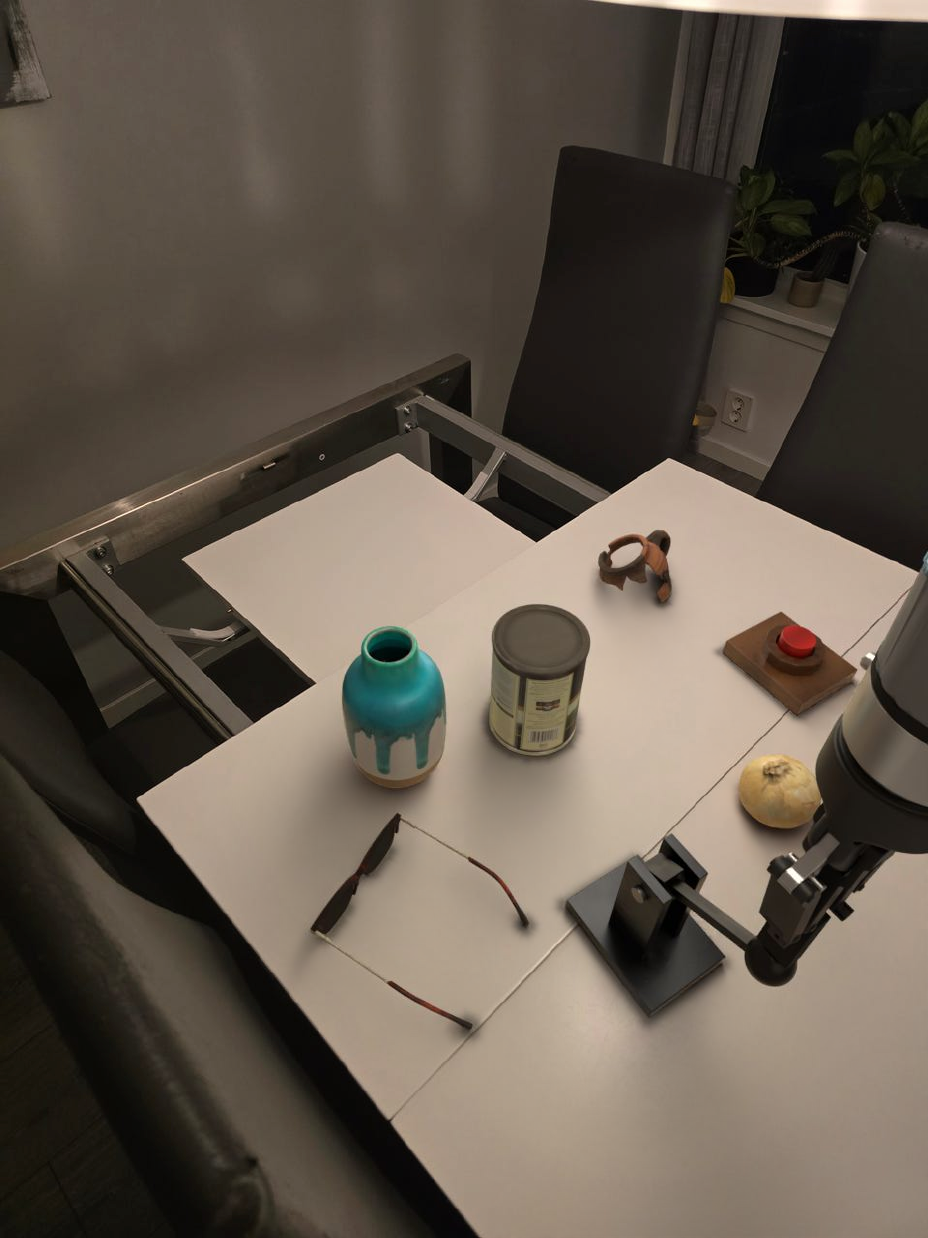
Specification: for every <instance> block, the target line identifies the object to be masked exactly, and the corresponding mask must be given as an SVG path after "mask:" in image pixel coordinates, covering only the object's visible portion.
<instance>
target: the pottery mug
mask: <svg viewBox="0 0 928 1238" xmlns="http://www.w3.org/2000/svg"><path fill="white" fill-rule="evenodd" d="M671 543H672V540H671V536H670V535H669V533H668V532H667V531H665V530H662V529H655V530H653V531H652V532H650V533H649V534H648V535H647V536H646V537H645V536H643V535H641V534H637V533H631V534H626V535H623V536H620V537H617V538H615V539H614V540H612V541H611V542H609V543H608V544H607V547H608V549H609V551H608V552H607V551H606V550H603V551H602V552H600V553H599V556H598V560H597V563H598V567H599V570H598V574H599V575H598V576H599V578H600V580H601V582H603V583H605V584H607V585H612V586H614V587H616V588H617V589H618V590H620V591H621V592H622V591H624V585H625V582H626V578H627V579H629V580H630V581H632V582H635V583H638V584H641V585H642V584H646V583H648V578H647V576H646V574H647V571H646V567H647V566H648V567H649V568H650V569H651V570H652V571H653V573H654V574H655V575H657V576H661V578H662V580H664V583H663V584H662V586H661V587H660V588H659V589H658V590H657V592H656V595H657V597H659V598H658V599H659V600H658V601H659V603H660V604H663V603H664V602H665V601H667V600H668V598H669V596H670V595H671V593H672V589H673V585H672V580H671V579H672V578H671V575H670V569H669V568H670V567H669V562H668V559H667V556H668V554H669V551H670V548H671ZM631 544H640V546H641V547H642V549H641V552H640V553H639V555H638V556H637V557H635V559H634V560H633V561H631V562H630V563H628V564H626V565H623V566H619V567H612V566H613V560H612V555H613V554H614V553H615V552H616V551H618V550H619V549H621V548H624V547H625V546H629V545H631ZM646 565H647V566H646Z"/></svg>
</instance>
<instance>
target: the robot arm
mask: <svg viewBox="0 0 928 1238" xmlns="http://www.w3.org/2000/svg"><path fill="white" fill-rule="evenodd" d="M922 562H923V564H922V566H921V568H920V570H919V572H918V574H917V576H916V578H915V580H914V581H913V584H912V586H911V587H910V590H909V592H908V593H907V595H906V597H905V599H904V601H903V603H902V605H901V607H900V608H899V611H898V612H897V614H896V615H895V618H894V620H893V622H892V624H891V625H890V627H889V630H888V632H887V633H886V635H885V637H884V639H883V640H882V641H881V643H880V644H879V647H878V648H877V650H876V652H874V651H872V652H868V653H867V654H865V655H864V656H862V657H861V658H860V662H859V665H860V667H861V669H862V670H863V671H865V673H864V675H863V677H862V678H861V680H860V682H859V684H858V685H857V686H856V688H855V691H854V692H853V694H852V696H851V698H850V699H849V701H848V703H847V704H846V707H845V709H844V710H843V713H841V715H840V716H839V717H838V719H837V720H836V722H835V724H834V725H833V727H832V729H831V731H830V733H829V734H828V736H827V737H826V739H825V742H824V743H823V745H822V747H821V749H820V751H819V753H818V755H817V757H816V760H815V761H816V762H815V768H814V773H815V774H814V776H815V778H816V782H817V786H818V789H819V792H820V795H821V804H820V806H819V807H818V808H817V810H816V812H815V813H814V815H813V818H812V822H813V824H812V826H811V828H810V829H809V831H808V832H807V834H806V835H805V837H804V839H803V840H802V842H801V846H802V849H803V850H804V854H803V855H802V856H801V857H800V858H799V857H798V856H797V855H796V854H795V853H794V851H793V852H792V851H790V852H789V853H788V854H787V855H785V856H784V854H781V855H779V856H776V857H774V858H772V860H770V861H769V865H768V866H767V868H766V871H767V872H768V873H769V874H770V877H769V880H768V883H767V886H766V888H765V892H764V894H763V898H762V902H761V904H760V907H759V911H758V913H759V914H760V916H762V918H763V919H764V920H765V922H764V924H763V925H762V927H761V929H759V932H758V933H757V934H756V935H757V936H756V935H755V936H756V937H757V938H758V939H759V940H760V942H761V943H762V944H763V945H764V946H765V947H766V948H767V949H768V950H769V952H770V953H771V954H772V955H773V956H774V957H775V958H776V959H777V960H778V961H779V963H780V964H781V965H782V966H783V967H784V968H785V969H787V968H788V967H789V966H791V965H792V964H793V963H794V962H796V961H797V962H798V960H800V959H801V958H802V957H803V955H804V954H805V953H806V951H807V950H808V949H809V947H811V945H812V943H813V942H814V941H815V939H816V938H817V937H818V935H820V933H821V931H822V930H823V929H824V928H825V926H826V925H827V924H828V923H829V921H830V919H832V915H830V914H829V913H828V911H830V912H831V913H832V914H833V915H834V916H835V917H836V918H837V919H838V920H839V921H840V922H841V923H843V922H844V921H845V920H847V919H848V918H850V916H851V915H852V914H854V912H855V910H854V909H853V907H852V906H851V905H849V904H848V903H847V900H848V898H849V897H850V896H851V894H852V893H853V894H856V893H857V892H861V891H863V890H864V889H865V887H866V884H867V883H868V882H869V880H870V879H872V877H873V876H874V875H875V873H876V872H878V870H879V869H880V868H881V867H882V866H883V865H884V864H885V863H886V861H887V860H889V859H890V858H892V857H893V856H894V855H895V854H896V853H899V854H905V855H925V854H927V855H928V551H927V552H926V554H925V555H924V557H923V559H922Z"/></svg>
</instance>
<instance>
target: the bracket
mask: <svg viewBox="0 0 928 1238" xmlns="http://www.w3.org/2000/svg"><path fill="white" fill-rule="evenodd" d="M660 852H661V853H662V854H664V855H665V856H666V857H668V858H669V859H671V860H672V861H673V862H675V863H676V864H677V865H679V866H680V867H681V868H683V869H684V874H685V883H686V884H687V885H688V886H690V887H691V888H692V889H694V890H695V891H696V892H698V893H699V894H700V892H701V890H702V888H703V885H704V883H705V881H706V879H707V877H708V876H709V872H708V871H707V870H706V868H705V867H704V866H703V865H702V864H701V863H700V862H699V861H698V860H697V859H696V858H695V856H693V855H692V853H690V851H689V850H688V849H687V848H686V847H685V846H684V845H683V844H682V843H681V841H680V840H679V839H678V838H677V837H676V836H675V835H674V834H673V833H670V834H668V835H667V836H665V837H663V838H662V841H661V844H660V847H659V849H658V852H657V854H658V853H660ZM645 862H646V861H645V860H643V858H642V857H641V856H640V855H639V854H636V855H634V856H633V857H631V858H630V859H628V860H626V861H625V862H624V863H622V864H621V865H618V866H617V867H616V868H614V869H613V870H611V871H609V872H608V873H606V874H604V875H603V876H602V877H600V878H598V879H597V880H596V881H594V882H592V883H591V884H589V885H588V886H586V887H584V888H583V889H582V890H580V891H579V892H576V893H575V894H574V895H572V896H570V897H569V898H567V899H566V902H565V907H566V909H567V910H568V911H569V913H570V914H571V915H572V917H573V918H574V919H575V921H576V922H577V924H578V925H579V926H580V927H581V929H582V930H583V931H584V933H585V934H586V935H587V937H588V938H589V939H590V941H591V942H592V943H593V945H594V946H595V947H596V949H597V950H598V951H599V953H600V954H601V955H602V957H603V958H604V959H605V961H606V962H607V964H608V965H609V966H610V968H611V969H612V970H613V972H614V973H615V974H616V975H617V977H618V978H619V979H620V980H621V982H622V983H623V985H624V986H625V987H626V989H627V990H628V991H629V993H630V994H631V995H632V997H633V998H634V999H635V1000H636V1002H637V1004H638V1005H639V1006H640V1007H641V1009H642V1010H643V1012H644V1013H645V1014H646V1015H647V1017H648V1018H651V1017H652V1016H654V1015H655V1014H656V1013H657V1012H658V1011H661V1009H663V1008H664V1007H666V1005H668V1004H669V1003H671V1002H672V1001H673V1000H674V999H676V998H677V997H679V996H680V995H681V994H683V993H684V992H685V991H687V990H688V989H689V988H690V987H692V986H693V985H694V984H696V983H697V982H698V981H700V980H701V979H703V978H704V977H705V976H706V975H708V974H709V973H711V971H713V970H714V969H716V968H717V967H718V966H720V965H721V964H723V962H724V961H725V959H726V955H725V954H724V952H722V951H721V949H720V948H719V947H718V946H717V944H716V943H715V942H714V941H713V940H712V938H711V937H710V936H709V935H708V933H706V932H705V930H704V929H703V928H702V927H701V926H700V925H699V923H698V922H697V921H696V920H695V919H694V918H693V916H692V915H691V914H690V913H691V911H692V910H691V909H690V908H688V907H687V906H686V905H685V904H683V903H682V902H681V901H679V900H678V899H677V898H675V899H674V900H672V897H671V896H670V894H669V893H668V892H667V891H666V890H665V889H664V887H663V886H662V885H661V884H660V883H659V882H658V880H657V879H656V878H655V877H654V876H653V875H652V873H651V872H650V871H649V870H648V869H647V868H646V866H645V865H644V864H643V863H645ZM671 900H672V901H671Z"/></svg>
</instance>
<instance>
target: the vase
mask: <svg viewBox="0 0 928 1238" xmlns="http://www.w3.org/2000/svg"><path fill="white" fill-rule="evenodd" d="M341 688H342V689H341V707H342V716H343V723H344V724H343V725H344V730H345V735H346V739H347V744H348V747H349V750H350V753H351V757H352V758H353V761H354V763H355V765H356V766H357V768H358V769H359V771H360V773H362V775H364V776H365V777H366V778H367V779H368V780H369V781H371V782H373V783H375V784H377V785H379V786H382V787H386V788H390V789H391V788H392V789H401V788H402V789H403V788H408V787H411V786H414V785H417V784H419V783H420V782H422V781H424V780H425V779H427V778H428V777H429V776H430V775H431V774H432V773H433V772H434V770H435V769H436V768H437V767H438V765H439V763H440V761H441V759H442V756H443V753H444V750H445V744H446V736H447V723H448V721H447V700H446V689H445V684H444V680H443V676H442V673H441V670H440V668H439V666H438V665H437V663H436V662H435V661H434V659H433V658H432V657H431V656H430V655H429V654H428V653H426V651H424V650H422V649H420V648H419V644H418V641H417V639H416V636H415V635H414V634H413V633H412V632H411V631H409V630H407V629H405V628H404V627H401V626H395V625H394V626H393V625H387V626H382V627H378V628H376V629H373V630H372V631H370V632H369V633H367V634H366V636H365V637H364V638H363V640H362V642H361V647H360V653H359V655H358V656H357V657H356V658H355V659H354V660H353V661H352V662H351V663H350V665H349V666H348V668H347V669H346V671H345V674H344V676H343V680H342V687H341Z"/></svg>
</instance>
